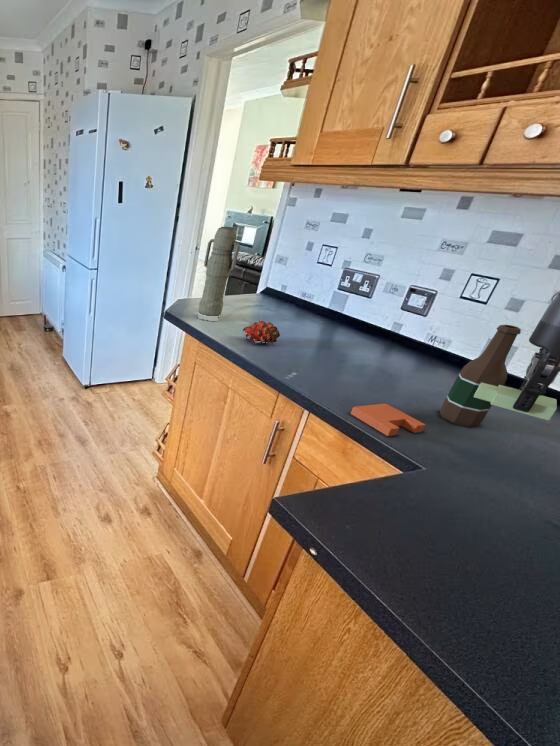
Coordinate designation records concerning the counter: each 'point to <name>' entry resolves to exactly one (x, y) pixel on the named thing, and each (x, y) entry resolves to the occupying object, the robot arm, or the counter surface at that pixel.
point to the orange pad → (386, 419)
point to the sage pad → (508, 397)
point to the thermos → (218, 270)
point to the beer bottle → (479, 380)
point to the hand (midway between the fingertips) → (521, 404)
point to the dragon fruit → (262, 332)
